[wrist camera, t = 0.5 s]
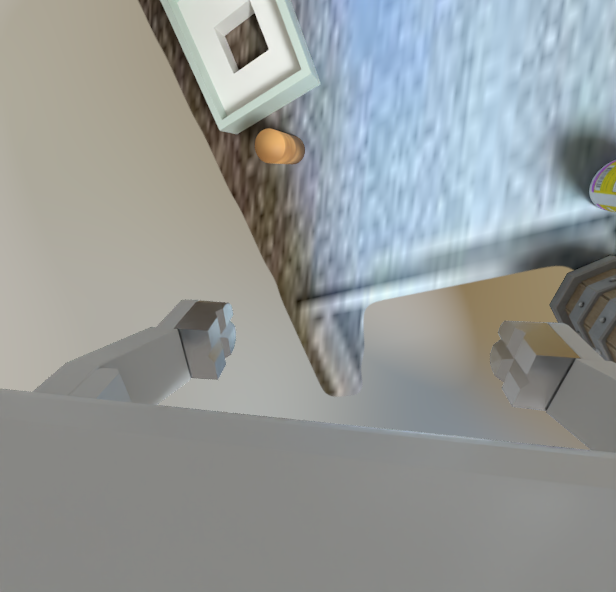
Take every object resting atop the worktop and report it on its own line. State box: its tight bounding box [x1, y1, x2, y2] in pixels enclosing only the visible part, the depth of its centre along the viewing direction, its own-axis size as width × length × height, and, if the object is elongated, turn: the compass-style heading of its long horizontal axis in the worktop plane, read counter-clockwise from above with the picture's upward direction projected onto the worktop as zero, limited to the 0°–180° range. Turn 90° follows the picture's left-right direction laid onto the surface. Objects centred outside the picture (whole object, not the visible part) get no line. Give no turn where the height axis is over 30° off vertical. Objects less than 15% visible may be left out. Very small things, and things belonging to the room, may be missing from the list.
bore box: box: [160, 0, 321, 134], centre depth 42 cm, size 18×15×6 cm
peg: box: [255, 129, 305, 164], centre depth 44 cm, size 4×4×10 cm
